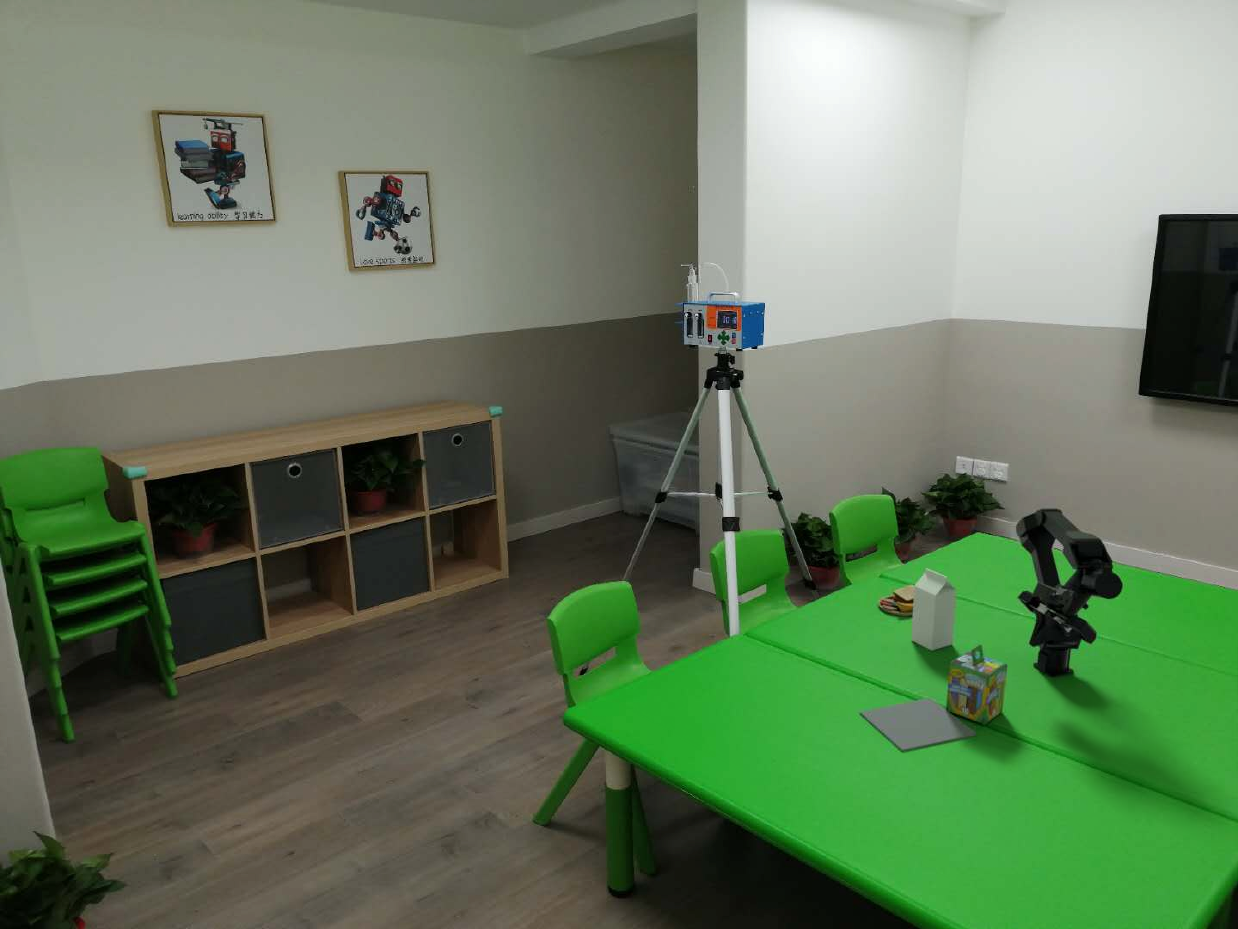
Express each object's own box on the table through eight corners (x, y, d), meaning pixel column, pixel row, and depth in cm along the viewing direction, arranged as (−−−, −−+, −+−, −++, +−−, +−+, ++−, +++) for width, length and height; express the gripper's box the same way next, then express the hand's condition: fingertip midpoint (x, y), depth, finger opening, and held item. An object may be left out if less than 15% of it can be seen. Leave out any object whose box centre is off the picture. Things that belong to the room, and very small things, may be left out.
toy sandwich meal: (870, 601, 264) (870, 586, 263) (914, 597, 267) (915, 581, 265) (890, 619, 252) (891, 603, 251) (936, 614, 255) (938, 598, 253)
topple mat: (930, 699, 211) (930, 697, 210) (976, 735, 196) (976, 733, 196) (859, 713, 205) (859, 711, 205) (902, 751, 191) (902, 749, 191)
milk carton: (931, 651, 233) (936, 580, 228) (910, 640, 239) (915, 571, 234) (952, 645, 236) (957, 574, 231) (931, 634, 242) (936, 565, 237)
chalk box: (984, 726, 198) (991, 661, 195) (944, 710, 205) (950, 647, 201) (1004, 712, 205) (1011, 649, 201) (964, 697, 211) (970, 636, 208)
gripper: (1027, 556, 211) (982, 609, 211) (1091, 586, 194) (1042, 643, 193) (1053, 584, 215) (1009, 635, 215) (1117, 615, 198) (1070, 671, 198)
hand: (1031, 645), depth 205 cm, fingers closed
